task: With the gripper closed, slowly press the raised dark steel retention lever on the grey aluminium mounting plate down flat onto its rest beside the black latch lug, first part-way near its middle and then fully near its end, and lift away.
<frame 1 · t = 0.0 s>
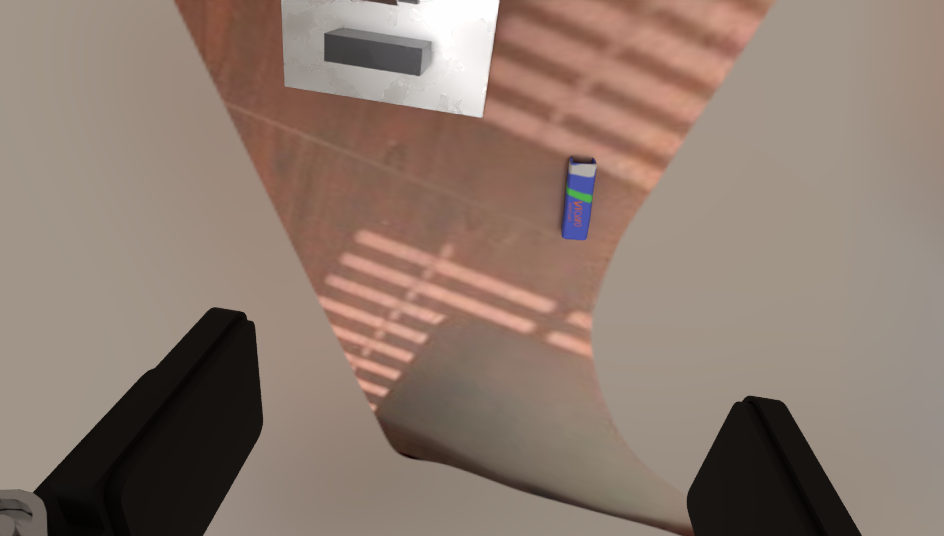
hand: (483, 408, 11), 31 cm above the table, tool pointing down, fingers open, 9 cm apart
eraser: (576, 192, 41), on the table
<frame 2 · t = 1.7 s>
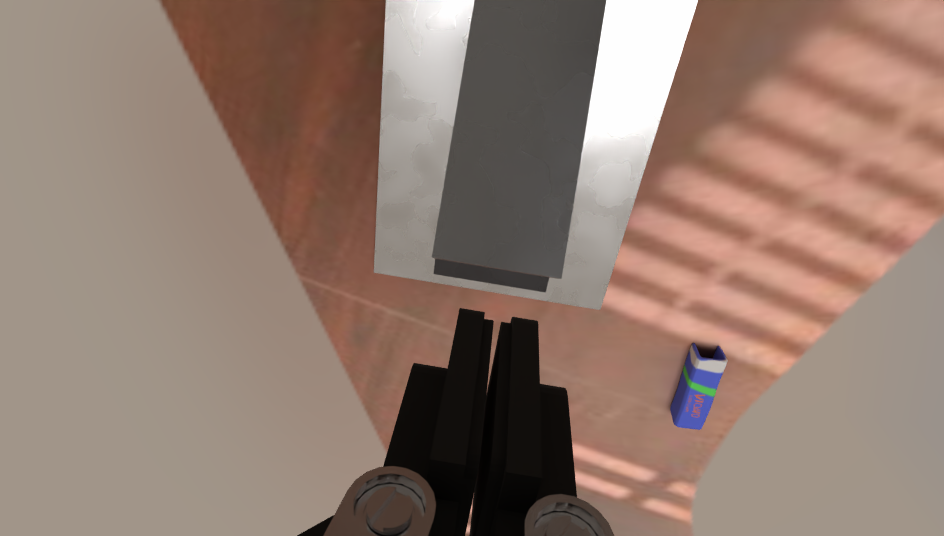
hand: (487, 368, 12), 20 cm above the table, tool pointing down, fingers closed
mounting plate: (519, 104, 28), on the table
retention lever: (528, 70, 21), point 7 cm above the table, hinge at 32.0°
eraser: (692, 374, 37), on the table
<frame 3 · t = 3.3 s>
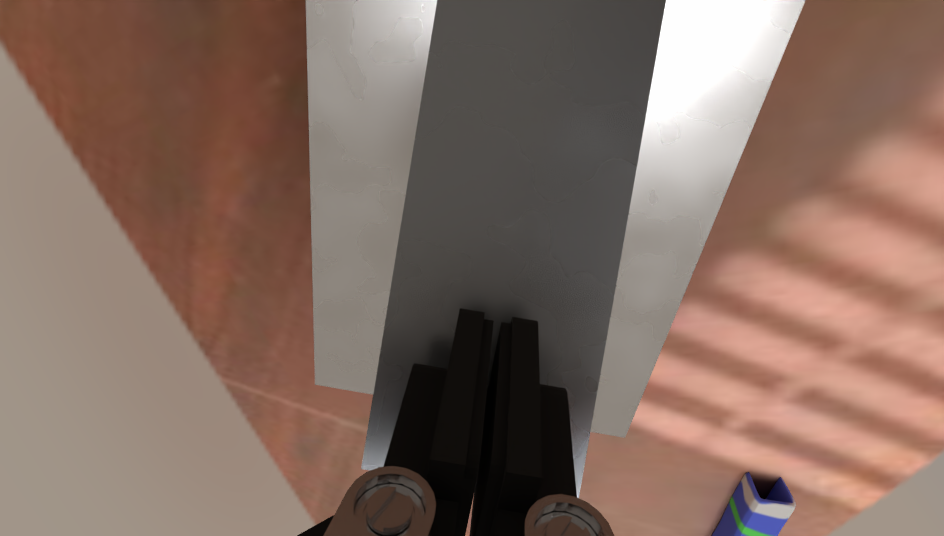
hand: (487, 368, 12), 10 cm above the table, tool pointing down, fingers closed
mounting plate: (513, 166, 19), on the table
retention lever: (524, 150, 12), point 6 cm above the table, hinge at 29.2°, touching gripper
eraser: (739, 504, 28), on the table
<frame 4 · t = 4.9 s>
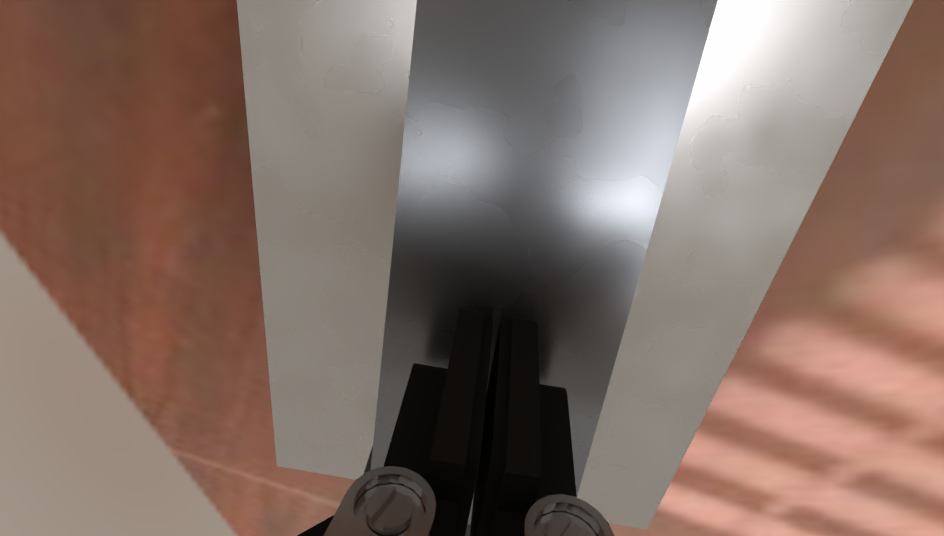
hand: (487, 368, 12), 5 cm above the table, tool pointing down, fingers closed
mounting plate: (512, 216, 16), on the table
retention lever: (521, 218, 11), point 4 cm above the table, hinge at 9.7°, touching gripper
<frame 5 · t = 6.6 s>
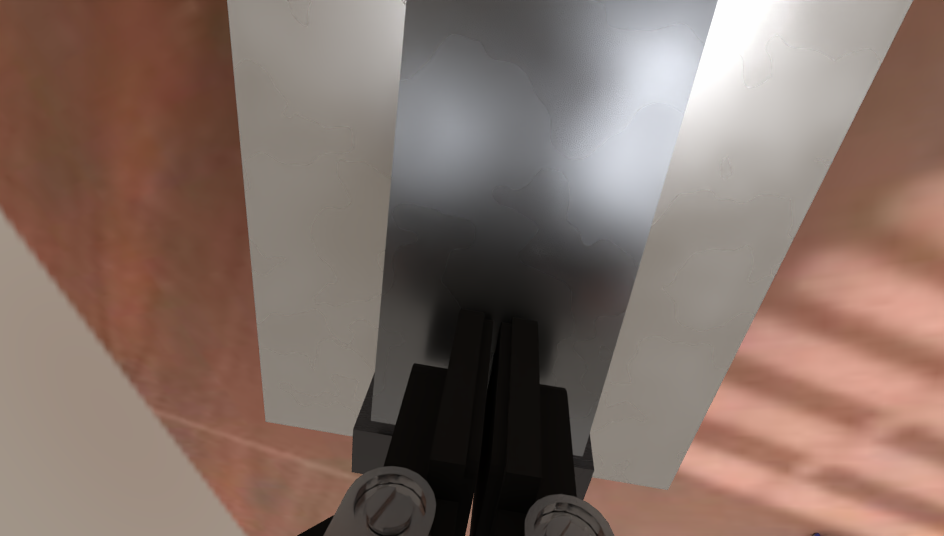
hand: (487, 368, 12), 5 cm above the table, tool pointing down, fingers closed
mounting plate: (524, 128, 14), on the table
retention lever: (541, 85, 10), point 4 cm above the table, hinge at 7.0°, touching gripper
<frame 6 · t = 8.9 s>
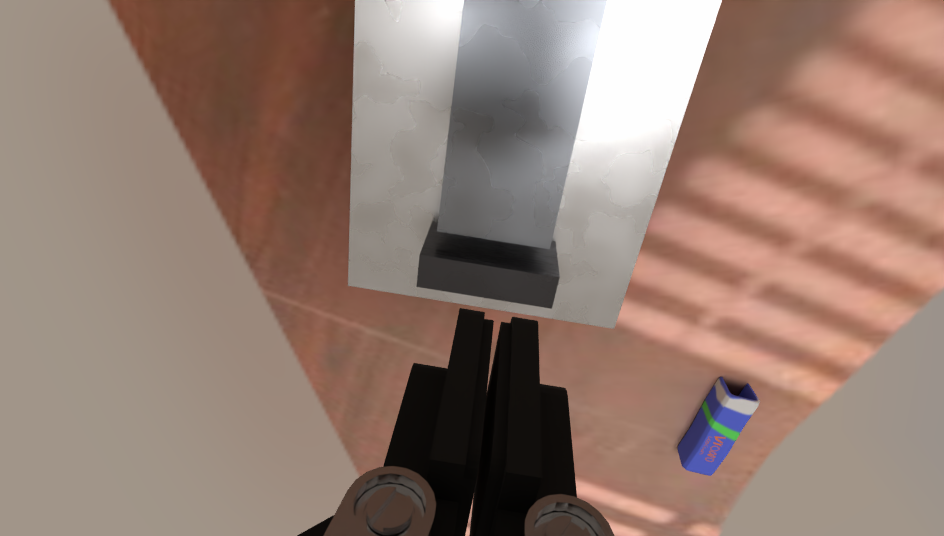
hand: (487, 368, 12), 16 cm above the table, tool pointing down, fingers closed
mounting plate: (518, 83, 24), on the table
retention lever: (526, 48, 20), point 3 cm above the table, hinge at 0.9°
eraser: (709, 411, 32), on the table
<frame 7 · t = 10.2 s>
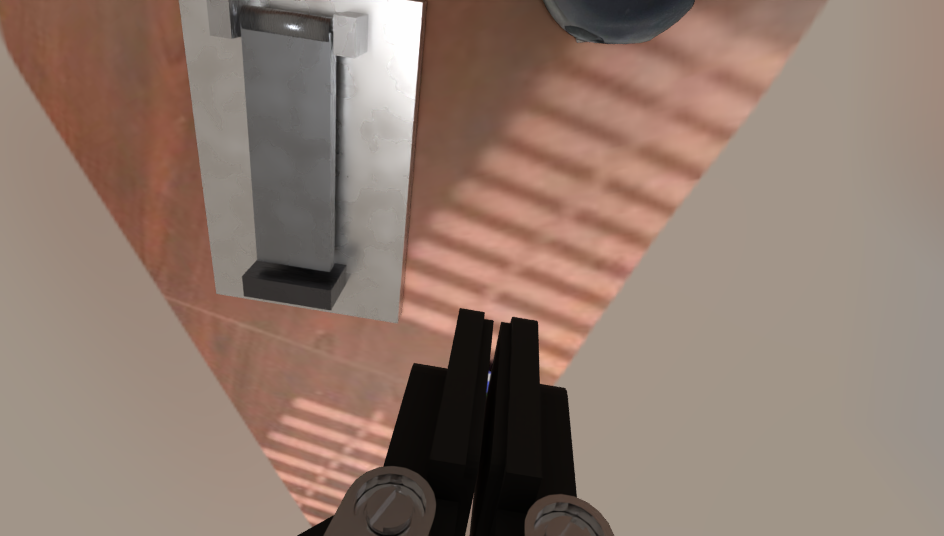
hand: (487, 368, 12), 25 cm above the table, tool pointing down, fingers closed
mounting plate: (311, 163, 36), on the table
retention lever: (292, 151, 33), point 3 cm above the table, hinge at 0.9°
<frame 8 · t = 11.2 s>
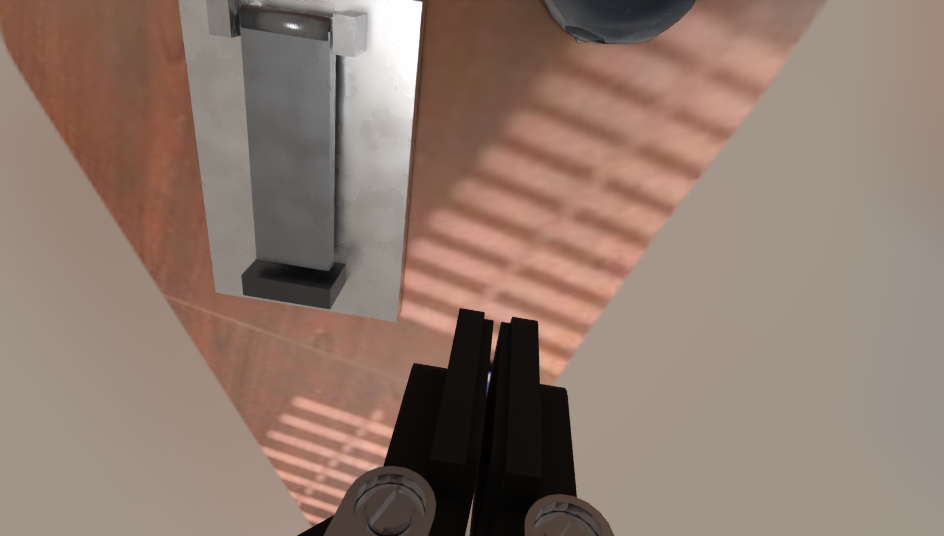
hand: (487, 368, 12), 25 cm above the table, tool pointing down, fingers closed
mounting plate: (310, 163, 36), on the table
retention lever: (292, 150, 33), point 3 cm above the table, hinge at 0.9°
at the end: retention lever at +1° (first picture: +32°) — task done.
